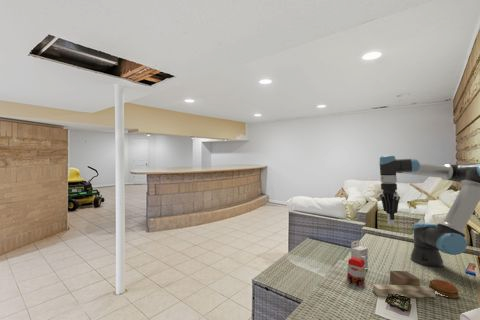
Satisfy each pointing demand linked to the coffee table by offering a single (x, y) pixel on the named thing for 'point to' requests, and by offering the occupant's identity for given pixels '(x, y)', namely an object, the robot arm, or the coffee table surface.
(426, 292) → the maple board
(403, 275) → the walnut block
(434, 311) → the coffee table surface
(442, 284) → the burger
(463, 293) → the coffee table surface
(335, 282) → the coffee table surface
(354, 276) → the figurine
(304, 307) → the coffee table surface
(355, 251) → the ink box
